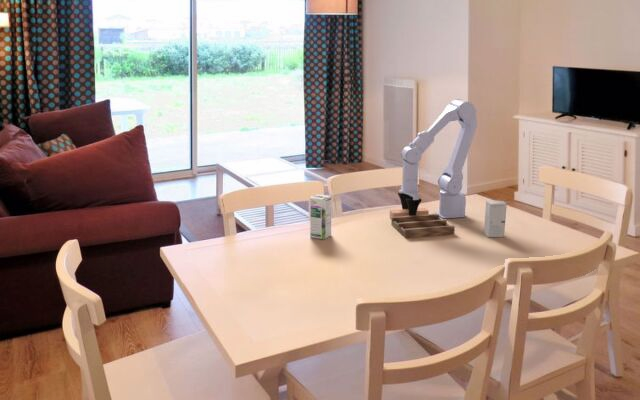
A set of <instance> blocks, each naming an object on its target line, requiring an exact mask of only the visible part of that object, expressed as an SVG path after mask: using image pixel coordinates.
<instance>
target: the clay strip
mask: <svg viewBox="0 0 640 400" xmlns="http://www.w3.org/2000/svg"><path fill="white" fill-rule="evenodd" d="M429 212H430V211H429V210H428V208H426V207H418V209H417V212H416V215H427V214H429ZM399 216H409V209H402V208H401V209H390V210H389V219H390V220H392V217H399Z"/></svg>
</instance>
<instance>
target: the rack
mask: <svg viewBox="0 0 640 400" xmlns="http://www.w3.org/2000/svg"><path fill="white" fill-rule="evenodd" d="M390 220H391V219H390ZM391 226H392V227H393V228H394V229H396V230H397V232H398V233H400V234H401V236H403V237H404V238H405V239H411V238H413V239H414V238H423V237H424V238H425V237H437V236H449V235H455V225H453V224H452V225H450V224H449V223H448V222H447V218H441V217H440V216H439V214H436V213H428V214H427V215H413V216H399V217H392V220H391Z"/></svg>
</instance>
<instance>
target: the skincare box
mask: <svg viewBox="0 0 640 400" xmlns="http://www.w3.org/2000/svg"><path fill="white" fill-rule="evenodd" d="M507 206H508V205H507V202H505V201H503V200H486V202H485V211H484V213H485V214H484V227H483V234H484V235H485V236H486V237H487V238H503V237H505V232H506V231H505V229H506V216H507V208H508V207H507Z"/></svg>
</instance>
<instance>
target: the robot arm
mask: <svg viewBox="0 0 640 400" xmlns="http://www.w3.org/2000/svg"><path fill="white" fill-rule="evenodd" d="M477 111H478V110H477V108H476V107H475V105H474V104H473V103H472V102H471V101H466V100H462V99H461V98H455V99H453V100H452V101H451V102H450V103H449V104H448V105H446V107H445V109H443V112H441V114H440V115H439V116H438V117H437V118H436V120H435V121H434V122H433V123H432V124H431V126H429V128H428V129H427V130H423V131H421V132H418V133H417V134H416V135H417V136H416V137H415V138H414V139H413V140H412V142H409V144H408V146H405V147H404V148H403V149H402V150H401V152H400V157H401V159H402V180H401V181H402V183H401V184H402V185H400V189H398V193H397V195H398V197H399V200H400V204H401V209H409V216H413V215H416V212H417V209H418V208H419V205H421V203H422V199H421V198H420V195H419V190H418V187H419V186H418V182H419V179H418V178H419V162H420V161H421V159H422V155H423V154H424V153H425V152H426V150H427V149H429V148H430V146H431V145H432V144H433V143H434V142H435V136H437V135H438V134H439V132H441V131H442V130H443V129H444V128H445V127H446V126H447V125H448V124H449V123H450V122H456V121H457V122H458V123H459V125H460V126H461V127H460V129H459V132H458V136H457V139H456V142H455V145H454V148H453V150H452V153H451V156H450V159H449V163H448V165H447V166H446V167H445V168H444V169H443V171H442V173H441V174H440V175H439V177H438V179H437V184H438V185H437V186H438V187H439V188H440V191H439V210H438V211H435V212H434V214H439V218H441V219H454V218H466V217H467V216H466V204H467V203H466V202H467V201H466V200H467V199H466V195H465V193H464V192H461V191H462V189H463V179H464V175H463V168H464V165H465V162H466V159H467V156H468V154H469V150H470V148H471V145H472V143H473V139H474V136H475V134H476V131H477V128H478V120H477Z"/></svg>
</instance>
